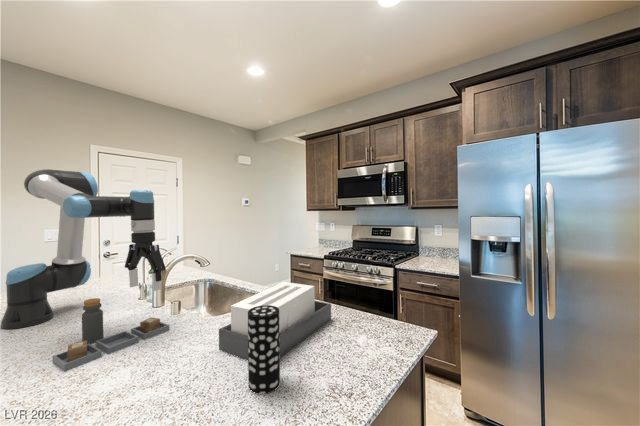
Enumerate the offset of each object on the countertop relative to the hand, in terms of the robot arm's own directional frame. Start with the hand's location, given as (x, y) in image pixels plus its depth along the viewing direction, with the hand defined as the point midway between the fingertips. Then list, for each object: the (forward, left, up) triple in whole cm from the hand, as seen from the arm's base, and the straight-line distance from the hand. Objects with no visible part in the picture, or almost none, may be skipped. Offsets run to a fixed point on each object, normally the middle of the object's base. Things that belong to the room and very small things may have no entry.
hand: (145, 288), depth 105 cm
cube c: (+1, -21, -17) cm, 27 cm away
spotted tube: (+59, 0, -18) cm, 61 cm away
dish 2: (+1, -10, -18) cm, 20 cm away
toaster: (+43, +26, -18) cm, 54 cm away
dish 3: (+1, +1, -18) cm, 18 cm away
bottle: (-10, -13, -18) cm, 24 cm away
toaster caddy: (+44, +26, -18) cm, 54 cm away
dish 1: (+1, -21, -18) cm, 27 cm away
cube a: (+1, +1, -17) cm, 17 cm away
